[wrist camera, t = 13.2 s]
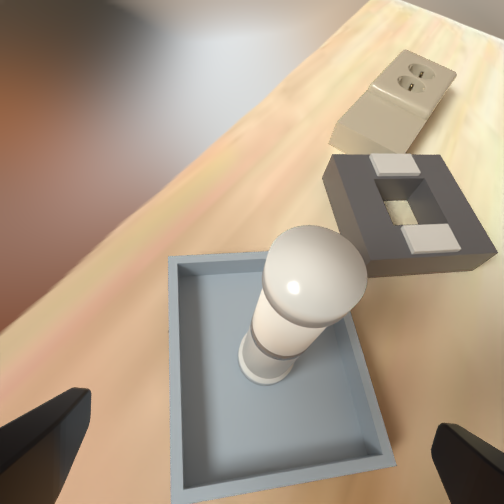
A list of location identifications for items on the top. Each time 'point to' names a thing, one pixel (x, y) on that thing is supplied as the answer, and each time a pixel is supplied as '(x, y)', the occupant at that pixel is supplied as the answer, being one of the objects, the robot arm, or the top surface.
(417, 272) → the socket block
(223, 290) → the parts tray
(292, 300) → the light bulb
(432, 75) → the electrical outlet
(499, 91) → the top surface
